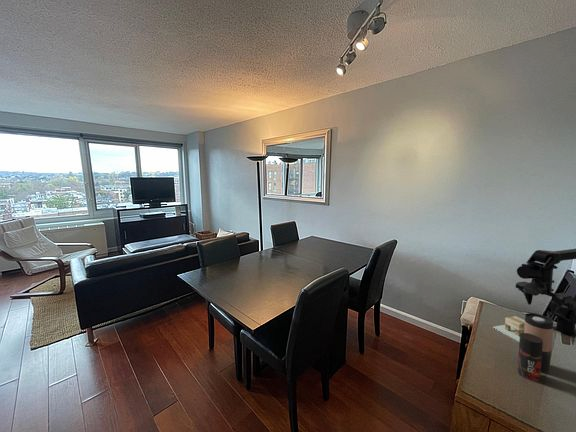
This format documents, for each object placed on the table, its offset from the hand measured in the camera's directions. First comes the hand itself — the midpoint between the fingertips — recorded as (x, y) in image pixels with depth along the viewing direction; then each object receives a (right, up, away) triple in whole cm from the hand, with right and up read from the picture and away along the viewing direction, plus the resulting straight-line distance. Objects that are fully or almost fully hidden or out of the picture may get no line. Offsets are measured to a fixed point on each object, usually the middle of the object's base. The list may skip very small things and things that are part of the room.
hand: (540, 308), depth 112 cm
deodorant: (-30, -16, -24) cm, 42 cm away
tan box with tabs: (-11, -12, +1) cm, 16 cm away
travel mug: (-23, -15, -19) cm, 34 cm away
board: (-11, -12, +1) cm, 16 cm away
